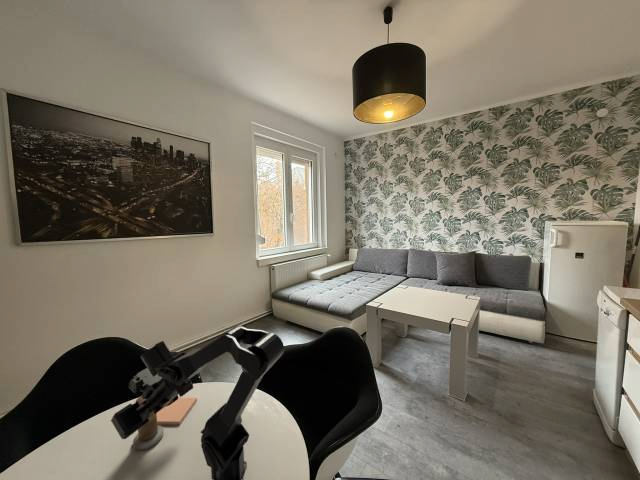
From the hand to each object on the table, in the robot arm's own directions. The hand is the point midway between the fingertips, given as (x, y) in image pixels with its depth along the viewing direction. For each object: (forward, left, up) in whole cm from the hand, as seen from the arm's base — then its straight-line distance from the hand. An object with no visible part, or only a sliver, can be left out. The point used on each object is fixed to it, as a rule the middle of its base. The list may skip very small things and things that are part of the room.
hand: (143, 415), depth 70 cm
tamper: (-1, 0, -7) cm, 7 cm away
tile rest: (-2, -10, -7) cm, 12 cm away
